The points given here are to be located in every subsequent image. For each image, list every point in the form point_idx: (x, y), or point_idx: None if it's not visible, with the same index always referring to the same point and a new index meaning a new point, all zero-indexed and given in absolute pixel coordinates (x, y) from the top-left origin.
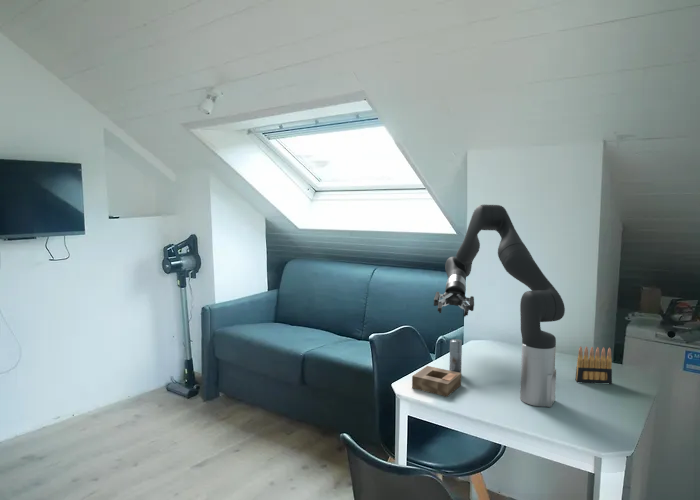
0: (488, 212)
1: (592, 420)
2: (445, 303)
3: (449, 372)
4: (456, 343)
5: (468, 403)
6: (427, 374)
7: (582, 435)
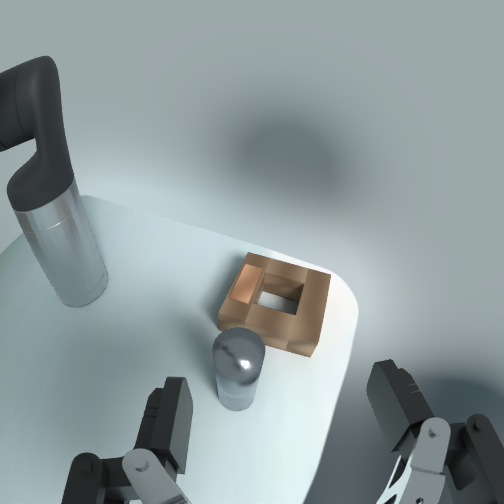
0: None
1: None
2: (385, 498)
3: (249, 310)
4: (235, 329)
5: (206, 255)
6: (302, 291)
7: None
